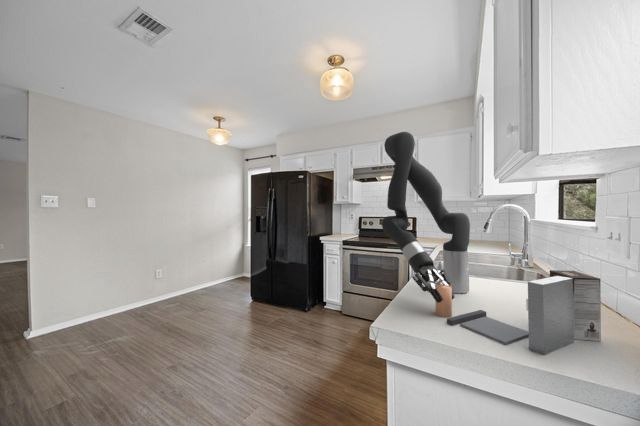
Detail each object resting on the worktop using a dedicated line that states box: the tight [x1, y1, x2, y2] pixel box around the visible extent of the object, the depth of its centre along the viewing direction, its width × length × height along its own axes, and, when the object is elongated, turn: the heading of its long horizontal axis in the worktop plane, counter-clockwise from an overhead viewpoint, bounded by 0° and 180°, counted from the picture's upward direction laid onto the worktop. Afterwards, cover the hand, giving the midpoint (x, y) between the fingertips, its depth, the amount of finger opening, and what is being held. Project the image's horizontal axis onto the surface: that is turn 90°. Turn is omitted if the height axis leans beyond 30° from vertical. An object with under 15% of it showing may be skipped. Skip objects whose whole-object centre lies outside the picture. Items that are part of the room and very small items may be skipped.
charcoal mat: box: [459, 316, 529, 346], centre depth 70 cm, size 12×12×1 cm
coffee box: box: [549, 269, 602, 342], centre depth 68 cm, size 9×6×16 cm
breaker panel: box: [525, 276, 575, 356], centre depth 62 cm, size 14×4×16 cm, turn 115°
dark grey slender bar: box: [446, 309, 487, 327], centre depth 77 cm, size 16×2×2 cm, turn 115°
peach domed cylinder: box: [434, 284, 453, 318], centre depth 81 cm, size 5×5×9 cm
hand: (446, 299), depth 80 cm, fingers closed on peach domed cylinder, 4 cm apart
